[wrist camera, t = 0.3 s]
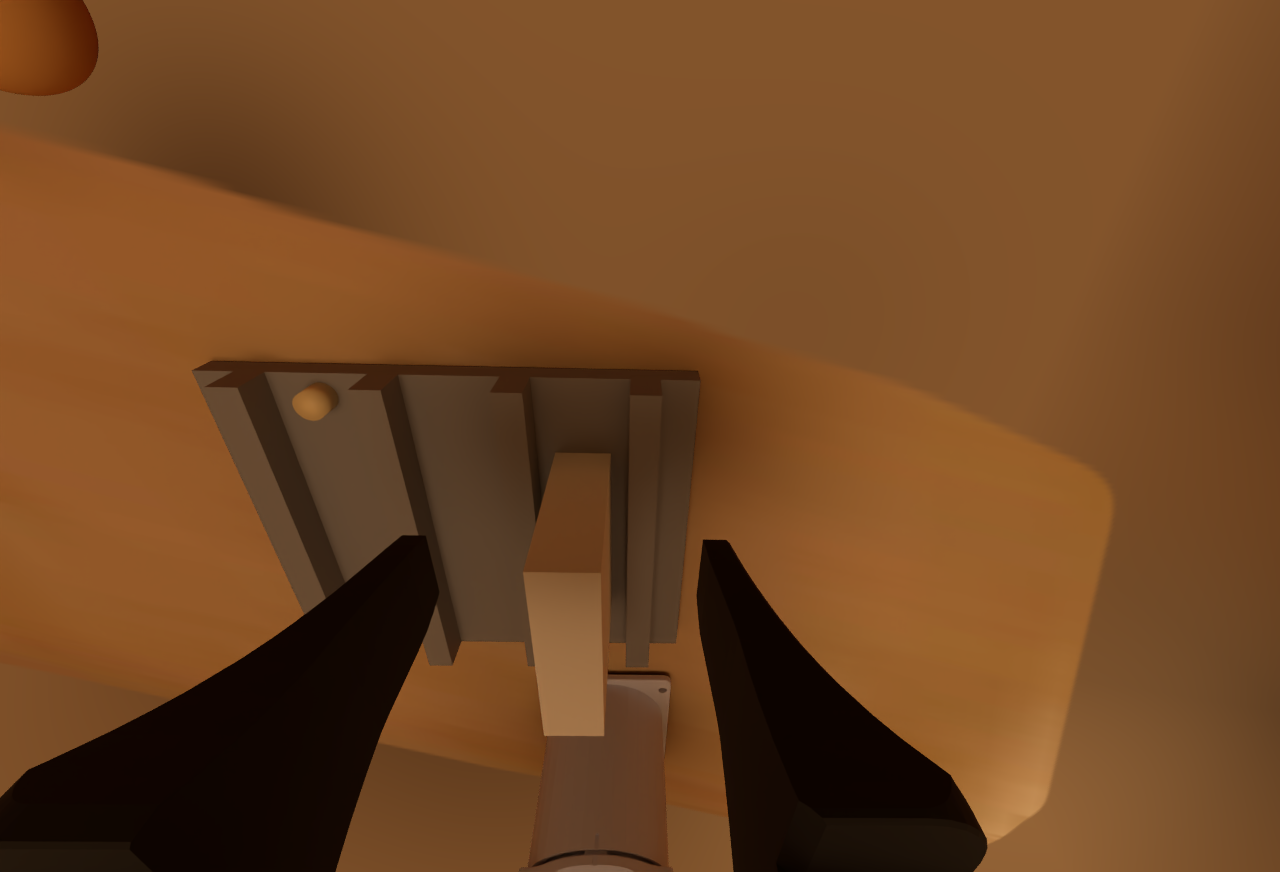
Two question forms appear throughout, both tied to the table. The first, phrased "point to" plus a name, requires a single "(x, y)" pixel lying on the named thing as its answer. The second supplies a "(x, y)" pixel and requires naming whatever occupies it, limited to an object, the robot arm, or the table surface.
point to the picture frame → (572, 594)
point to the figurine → (45, 46)
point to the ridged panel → (461, 479)
